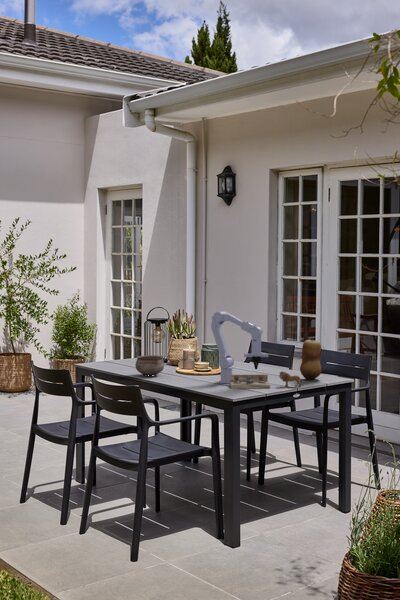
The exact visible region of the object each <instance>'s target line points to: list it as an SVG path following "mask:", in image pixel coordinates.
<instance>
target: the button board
mask: <svg viewBox="0 0 400 600" xmlns="http://www.w3.org/2000/svg"><path fill="white" fill-rule="evenodd" d="M268 377H269V376H268V374H232V375H230V383H229V387H230V388H231V389H271V384H270V382H269V380H268ZM247 380H253V383H252V384H247ZM236 381H238V382H240V384H234V382H236ZM260 381H264V382H265V383H259V382H260Z"/></svg>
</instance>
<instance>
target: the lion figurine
mask: <svg viewBox="0 0 400 600" xmlns="http://www.w3.org/2000/svg"><path fill="white" fill-rule="evenodd" d="M278 376H279V378H280V380H281V381H283V382H285V385H284V386H285V387H286V388H287V387H288V386H289V383H292V382H296V384H295V385H294V387H298V388H301V387H304V385H303V383H302V380H301V377H300V376H299V375H297V374H296V375H291V374H289V373H287V372H286V371H282V370H281V371H280V372H279V375H278Z"/></svg>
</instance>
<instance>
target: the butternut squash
mask: <svg viewBox="0 0 400 600" xmlns="http://www.w3.org/2000/svg"><path fill="white" fill-rule="evenodd" d="M301 348H302V349H301V363H300V366H299V371H300V375H301V376H303V378H304V379H306V381H309V380H310V381H311V380H315V379H317V378H319V376H320V375H321V373H322V366H321V361H320V360H321V353H322V344H321V342H320V341H319V340H313V339H307V340H304V341H303V344H302V347H301Z"/></svg>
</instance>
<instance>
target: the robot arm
mask: <svg viewBox="0 0 400 600" xmlns="http://www.w3.org/2000/svg"><path fill="white" fill-rule="evenodd" d="M225 322H231V323H233V324H235V325H236V326H239V327H240V329H241V330H242V331H245V332H246V333H248V334H249V335H251V353H244V354H243V357H244V358H251V360H252V362H253V365H254V366H253V367H254V369H255V370H258V366H259V364H260V361H261V359H262V358H269V353H262V334H263V328H262V327H260V326H258V325H256V324H252V323H250V321H249V320H244V321H243V320H241V319H239V318H238V317H236V316H234V315H233V314H231V313H229V312H227V311H225V310H221V311H216V312H214V314H212V317H211V325H210V327H211V331H212V334H213V337H214V341H215V344H216V347H217V351H218V353H219V355H218V360H219V362H218V365H219V367H220V380H219V383H220V384H230V375H233V365H234V363H235V361H234V358H233V357H232V355H231V353H230V352H229V350H228V347H227V344H226V342H225V338H224V336H223V332H222V329H221V327H222V325H223V324H224V323H225Z"/></svg>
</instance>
